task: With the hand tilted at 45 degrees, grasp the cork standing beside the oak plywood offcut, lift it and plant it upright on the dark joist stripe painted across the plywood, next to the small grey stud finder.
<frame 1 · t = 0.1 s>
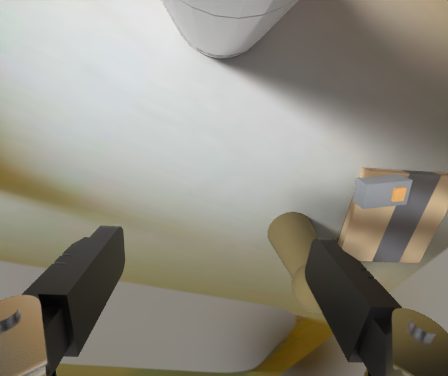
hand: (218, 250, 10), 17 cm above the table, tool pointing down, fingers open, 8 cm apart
plywood board: (389, 216, 30), on the table
stud finder: (375, 187, 27), point 1 cm above the table, touching plywood board
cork: (289, 230, 31), on the table
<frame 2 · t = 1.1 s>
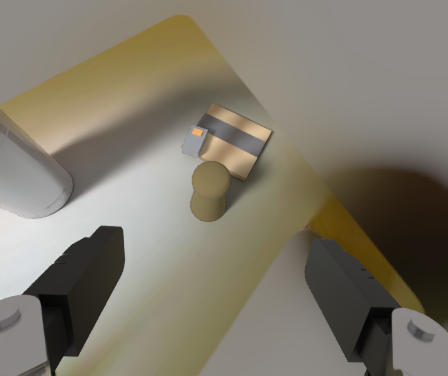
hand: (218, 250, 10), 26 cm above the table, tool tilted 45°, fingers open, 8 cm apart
plywood board: (227, 141, 44), on the table
stud finder: (195, 144, 42), point 1 cm above the table, touching plywood board
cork: (208, 204, 39), on the table
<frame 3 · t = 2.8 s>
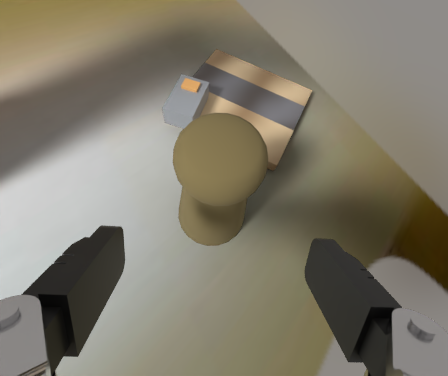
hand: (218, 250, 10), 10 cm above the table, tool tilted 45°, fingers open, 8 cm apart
plywood board: (241, 107, 27), on the table
stud finder: (187, 109, 24), point 1 cm above the table, touching plywood board
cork: (211, 213, 21), on the table
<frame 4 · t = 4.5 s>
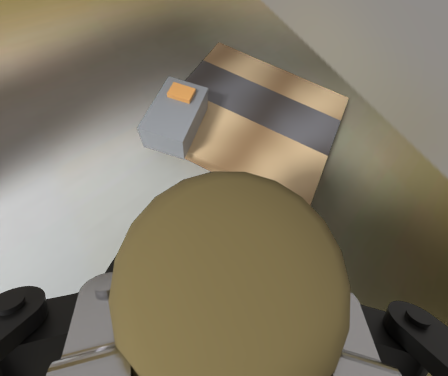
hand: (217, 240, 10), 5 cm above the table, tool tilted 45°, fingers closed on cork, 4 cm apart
plywood board: (252, 122, 20), on the table
stud finder: (177, 126, 17), point 1 cm above the table, touching plywood board
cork: (211, 287, 14), on the table, touching gripper
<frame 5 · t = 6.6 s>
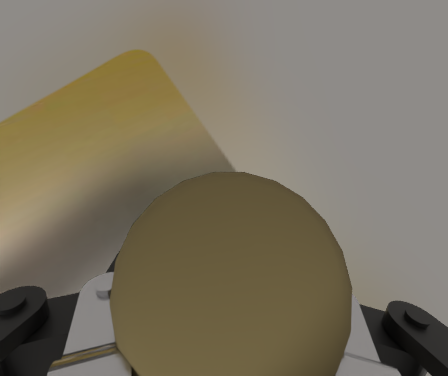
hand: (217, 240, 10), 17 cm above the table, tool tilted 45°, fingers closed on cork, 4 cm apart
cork: (214, 288, 14), point 12 cm above the table, touching gripper
when the fingers open (7 cm above the table, at t = 8.9 s): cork drops 1 cm, resting on plywood board.
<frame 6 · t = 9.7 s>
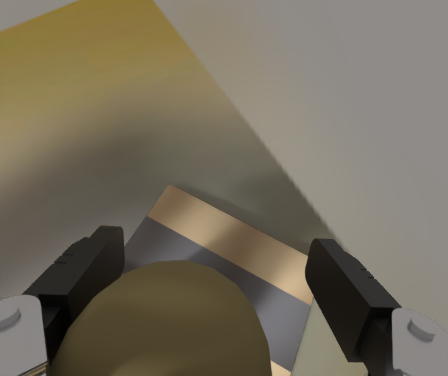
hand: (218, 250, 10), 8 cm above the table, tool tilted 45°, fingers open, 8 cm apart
plywood board: (203, 300, 16), on the table
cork: (184, 320, 14), point 1 cm above the table, touching plywood board
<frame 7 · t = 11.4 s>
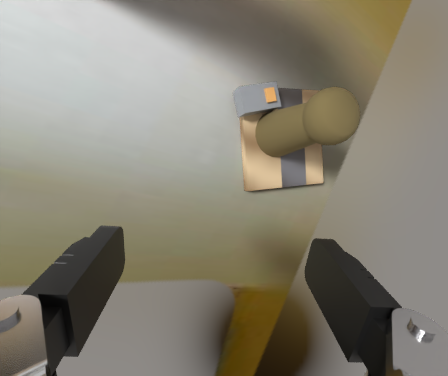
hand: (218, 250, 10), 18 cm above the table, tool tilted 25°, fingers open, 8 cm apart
plywood board: (280, 139, 32), on the table
stud finder: (253, 102, 29), point 1 cm above the table, touching plywood board
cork: (274, 134, 30), point 1 cm above the table, touching plywood board
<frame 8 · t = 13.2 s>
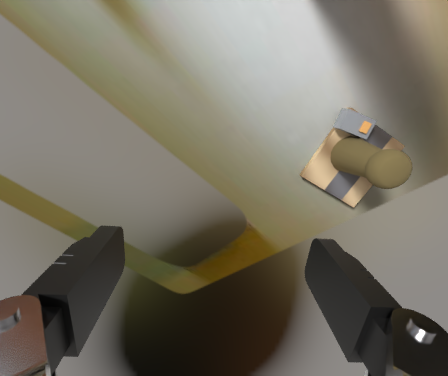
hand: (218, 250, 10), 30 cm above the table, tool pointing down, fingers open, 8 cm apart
plywood board: (348, 159, 40), on the table
stud finder: (350, 123, 37), point 1 cm above the table, touching plywood board
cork: (347, 154, 39), point 1 cm above the table, touching plywood board
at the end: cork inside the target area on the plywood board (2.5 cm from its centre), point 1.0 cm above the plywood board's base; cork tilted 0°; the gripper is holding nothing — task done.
